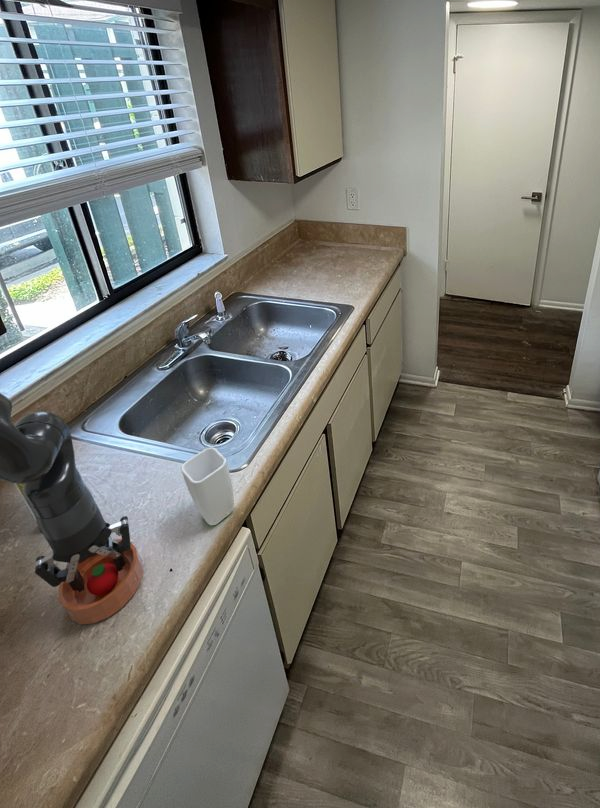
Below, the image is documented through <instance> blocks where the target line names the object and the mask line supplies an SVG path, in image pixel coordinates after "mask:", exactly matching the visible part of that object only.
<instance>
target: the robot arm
mask: <svg viewBox="0 0 600 808" xmlns="http://www.w3.org/2000/svg"><path fill="white" fill-rule="evenodd" d="M12 410H13V403H12V400H10V398H8V397H7V396H6V395H5V394H3V393H1V392H0V481H2V482H5V483H8V484H9V483H10V484H14V483H15V484H24V488H23V493H24V497H25V499H26V501H27V503H28V505H29V506H30V508H31V510H32V511H33V513H34V515H35V518H36V520H35V521H36V524H37V527H38V529H39V532H40V534H42V535H43V537H44V538H45V540H46V541H47V544H48V545H49V547H50V549H51V551H52V552H50V554H47V555H46V556H45V555H39V556H38V557H36V558H35V566H34V574H36V575H37V576H38V577H39V578H40V579H42V580H43V581H44V582H46V583H47V584H48V585H49V586H51V587H52V588H57V587H59V586H60V583H61V582H67V583H69V585H70V586H71V588H72V590H74V591H76V590H78V591H79V592H81V591H83V590H84V579H83V577H82V576H81V574H80V572H79V570H78V568H77V566H78V563H79V564H80V563H82V562H84V561H85V560H87V559H88V558H90V557H93V556H96V555H98V554H99V555H101V556H104V557H107V556H109V557H111V558H113V562H114V564H115V566H116V568H117V570H118V572H119V571H121V570H122V569H123V566H124V565H125V556H124V554H123V551H127V550H129V549H130V548H131V544H130V542H131V536H130V535H131V534H130V525H129V517H128V516H127V515H124V516H122V517H120V519H119V522H115V523H112V524H110V523H109V522H106V520H105V518H104V517H103V515H102V512H101V510H100V509H99V506H98V505H97V502H96V499H95V497H94V496H93V494H92V492H91V491H90V489H89V488H88V486H87V485H86V484H85V481H84V480H83V477H82V475H81V473H80V472H79V470H78V468H77V465H76V456H75V450H74V443H73V438H72V434H71V430H70V428H69V426H68V424H67V423H66V421H65V420H64V419H63V418H62V417H60V416H59V415H57V414H55V413H54V412H51V411H45V410H44V411H43V410H41V411H33V412H30V413H28V414H26V415H24V416H22V417H21V418H19V419H18V420H17V421H16V422H15V424H14V423H13V420H12ZM112 533H114V534H115V535H117V536H118V537H121V539H122V540H121V541H120V542H119V543H118V542H116V541H114V540H113V538H112V537H111V535H112ZM54 561H55V562H58V563H59V562H60V563H66V566H65V569H61V568H60V567H58V566H57V565H56V564H55V562H54Z"/></svg>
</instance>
